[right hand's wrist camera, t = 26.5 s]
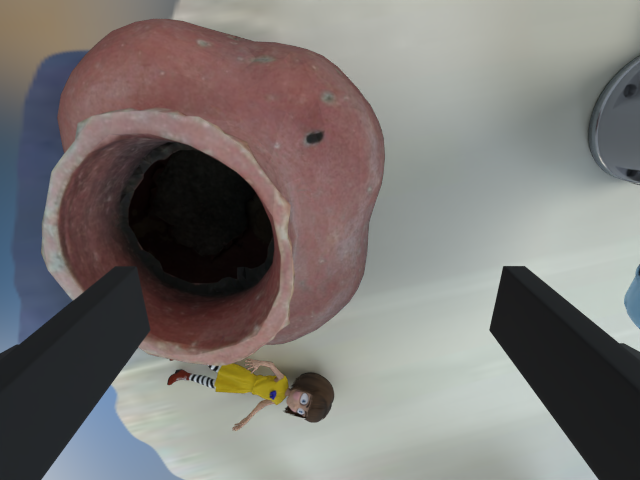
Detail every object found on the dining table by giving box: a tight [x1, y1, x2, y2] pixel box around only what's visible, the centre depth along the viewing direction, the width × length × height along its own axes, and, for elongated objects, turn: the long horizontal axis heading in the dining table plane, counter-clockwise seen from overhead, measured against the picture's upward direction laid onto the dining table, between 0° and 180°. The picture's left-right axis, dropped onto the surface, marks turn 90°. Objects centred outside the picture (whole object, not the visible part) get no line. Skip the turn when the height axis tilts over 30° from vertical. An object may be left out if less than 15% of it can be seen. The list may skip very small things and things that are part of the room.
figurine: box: [167, 359, 334, 431], centre depth 53 cm, size 13×8×25 cm
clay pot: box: [41, 19, 385, 366], centre depth 32 cm, size 30×30×25 cm
